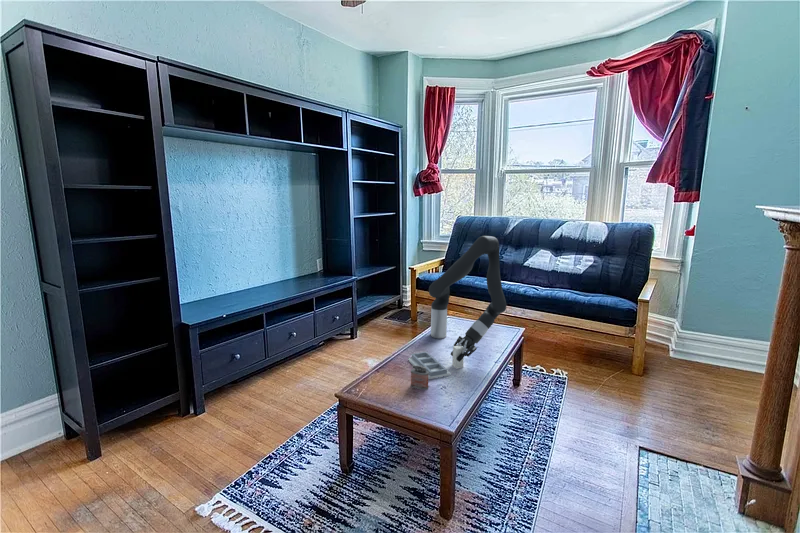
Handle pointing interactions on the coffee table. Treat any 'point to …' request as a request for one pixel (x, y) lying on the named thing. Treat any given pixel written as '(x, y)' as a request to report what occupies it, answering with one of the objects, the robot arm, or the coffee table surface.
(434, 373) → the rack
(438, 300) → the robot arm
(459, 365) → the clay bar
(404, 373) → the coffee table surface
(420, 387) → the lighter
